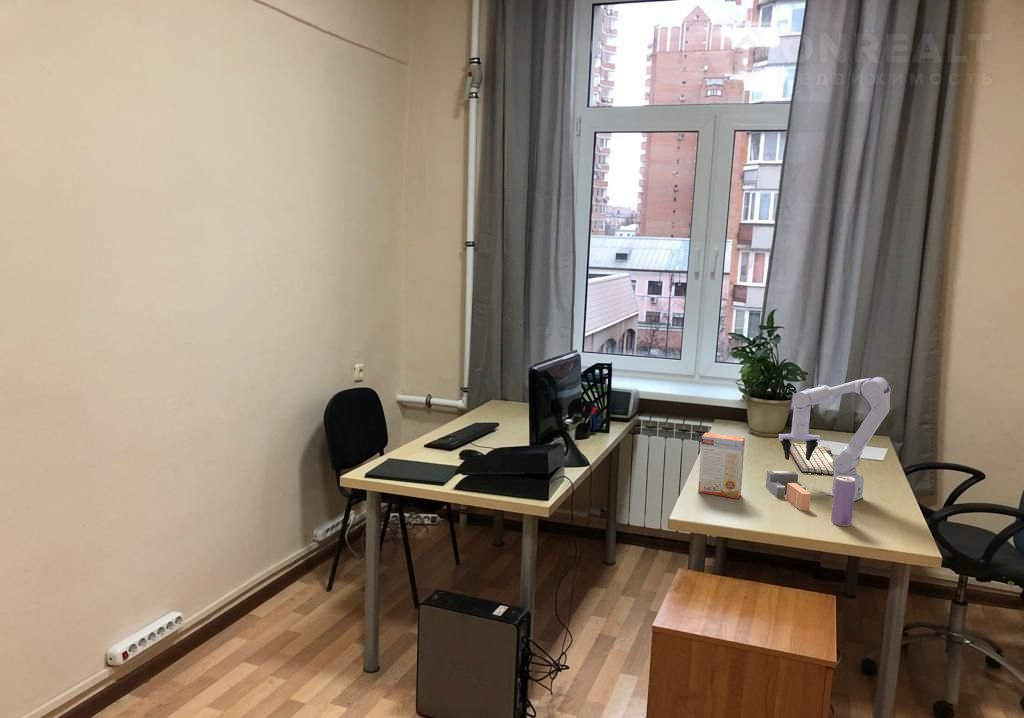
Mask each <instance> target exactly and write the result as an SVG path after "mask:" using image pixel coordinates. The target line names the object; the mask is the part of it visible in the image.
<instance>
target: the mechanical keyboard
mask: <svg viewBox="0 0 1024 718" xmlns="http://www.w3.org/2000/svg"><path fill="white" fill-rule="evenodd" d="M790 443H791V444H792V445H791V448H790V456H789V460H790V459H791V460H792V461H793V462H794V463H795V465H796V466H797V468H798V470H799V471H800V473H801V474H804V473H807V474H806V475H809V474H808V473H811V474H810V475H814V474H817V476H832V475H833V476H834V467H833V459H832V458H831V457H830V455H829V454H831V455H832V450H831V448H830V447H829V445H824V446H822V444H820V445H819V444H818V445H817V447H816V448H815V449H814V451H813V453H812V455H811V458H810V460H807V459H806V443H805V444H804V443H797V442H793V443H792V442H790ZM822 474H823V475H822Z"/></svg>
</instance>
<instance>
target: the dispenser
mask: <svg viewBox="0 0 1024 718" xmlns="http://www.w3.org/2000/svg"><path fill="white" fill-rule="evenodd" d="M787 483H796V484H798V485H799V486H801V487H802V488H803V489H805V490H806V491H807V486H805V485H802V483H800V482H799V474H798V473H797V472H795V471H791V470H789V471H788V470H767V471H766V481H765V488H766V489H768V490H769V492H770V493H772V495H773V496H775V498H782V499H783V498H785V496H786V494H785V493H786V492H787Z"/></svg>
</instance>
